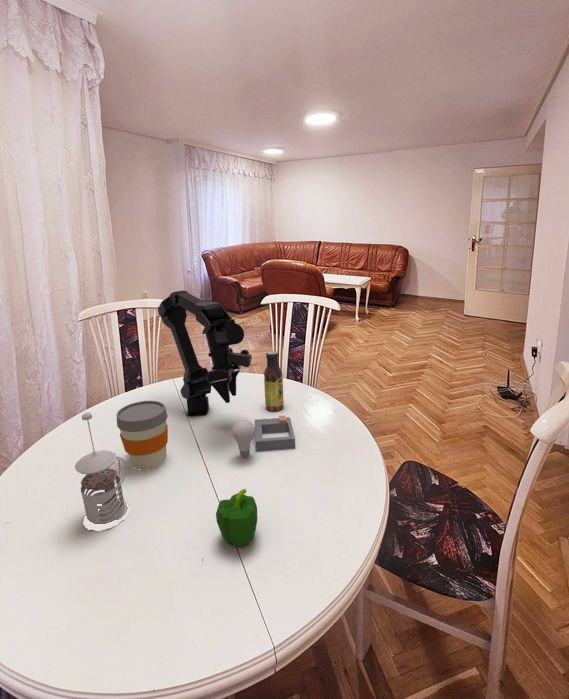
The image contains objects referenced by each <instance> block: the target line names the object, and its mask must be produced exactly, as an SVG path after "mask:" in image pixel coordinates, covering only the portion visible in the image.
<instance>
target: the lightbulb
mask: <svg viewBox="0 0 569 699" xmlns="http://www.w3.org/2000/svg"><path fill="white" fill-rule="evenodd" d="M231 435H232V437H233V439H234V440H235V441H236V443H237V446H238V450H239V456H240V457H241V458H244V459H246V458H247V457H249V456H250V453H251V450H250V449H251V443H252V440H253V439H254V437H255V424H254V423H252V421H250V420H248V419H245V418H244V419H239V420H236V422H235V423H234V424H233V425H232V428H231Z"/></svg>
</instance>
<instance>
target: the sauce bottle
mask: <svg viewBox="0 0 569 699" xmlns="http://www.w3.org/2000/svg"><path fill="white" fill-rule="evenodd" d="M265 355H266V365H267V366H266V367H265V369H264V371H263V378H264V381H263V382H264V383H263V384H264V402H265V409H266V410H268V411H269V412H278V411H280V410H283V408H284V378H283V376H284V375H283V373H282V369H281V367H280V364H279V351H276V350H269V351H268V350H267V352H266V353H265Z"/></svg>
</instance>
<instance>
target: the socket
mask: <svg viewBox="0 0 569 699" xmlns="http://www.w3.org/2000/svg"><path fill="white" fill-rule="evenodd" d="M254 428H255V434H254V438H255V452H261V451H262V452H264V451H276V450H278V451H279V450H287V449H289V450H290V449H296V437H295V433H294V427H293V423H292V420H291V417H290V416H287V417H286V415H279V416H278V417H276V418H275V417H274V418H260V419H254ZM277 433H288V436H277V437H263V435H264V434H277Z"/></svg>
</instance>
